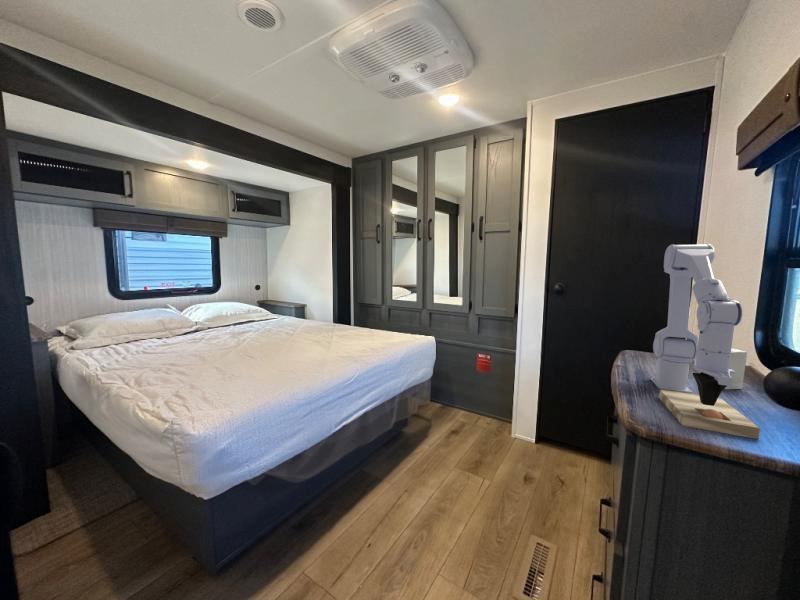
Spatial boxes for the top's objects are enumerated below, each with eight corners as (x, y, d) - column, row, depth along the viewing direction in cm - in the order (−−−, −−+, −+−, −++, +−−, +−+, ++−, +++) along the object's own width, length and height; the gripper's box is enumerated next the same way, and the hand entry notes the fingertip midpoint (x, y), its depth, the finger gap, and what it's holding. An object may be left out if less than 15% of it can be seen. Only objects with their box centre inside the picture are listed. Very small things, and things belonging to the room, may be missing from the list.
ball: (703, 406, 76) (706, 421, 74) (723, 409, 74) (727, 424, 73) (697, 410, 79) (700, 424, 77) (716, 413, 77) (719, 428, 75)
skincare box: (727, 384, 102) (731, 347, 101) (743, 389, 98) (748, 351, 97) (710, 384, 102) (714, 348, 100) (725, 390, 97) (730, 351, 96)
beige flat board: (658, 397, 91) (659, 389, 91) (719, 406, 86) (720, 397, 85) (682, 425, 75) (683, 415, 75) (758, 439, 69) (760, 428, 69)
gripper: (754, 360, 68) (745, 420, 70) (721, 345, 81) (714, 396, 83) (710, 356, 71) (703, 413, 73) (686, 342, 84) (680, 391, 86)
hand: (707, 404), depth 78 cm, fingers closed
